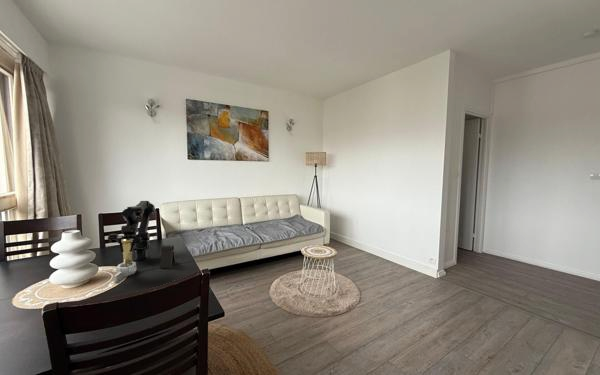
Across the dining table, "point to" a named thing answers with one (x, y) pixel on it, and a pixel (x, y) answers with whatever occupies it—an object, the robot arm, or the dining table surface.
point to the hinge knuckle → (124, 270)
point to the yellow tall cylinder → (127, 250)
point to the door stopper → (167, 257)
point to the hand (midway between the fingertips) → (126, 251)
